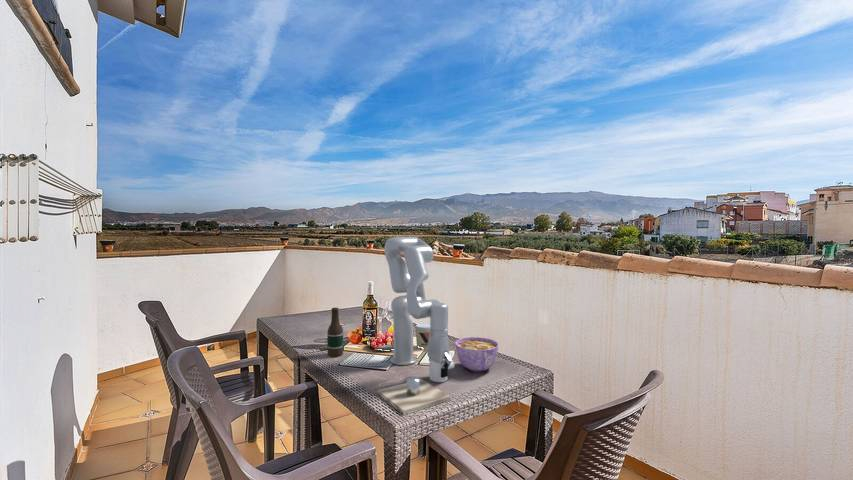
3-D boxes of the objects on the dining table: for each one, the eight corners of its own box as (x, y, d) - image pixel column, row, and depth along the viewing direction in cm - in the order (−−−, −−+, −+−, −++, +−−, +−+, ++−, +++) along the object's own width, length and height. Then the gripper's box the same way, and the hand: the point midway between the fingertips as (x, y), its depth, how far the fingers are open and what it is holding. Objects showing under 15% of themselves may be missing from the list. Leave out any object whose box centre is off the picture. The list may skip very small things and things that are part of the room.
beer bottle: (346, 354, 195) (346, 307, 194) (335, 358, 188) (334, 310, 187) (335, 351, 199) (335, 305, 198) (324, 355, 192) (323, 308, 192)
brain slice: (361, 346, 208) (361, 341, 208) (387, 341, 218) (387, 335, 218) (379, 356, 193) (379, 350, 192) (407, 349, 203) (407, 344, 203)
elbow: (426, 377, 163) (426, 359, 163) (446, 371, 170) (447, 354, 169) (436, 383, 157) (436, 364, 157) (457, 377, 163) (457, 359, 163)
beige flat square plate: (377, 394, 148) (377, 376, 148) (420, 382, 159) (420, 365, 159) (404, 415, 131) (404, 395, 131) (450, 400, 143) (450, 381, 142)
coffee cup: (419, 351, 200) (419, 328, 199) (412, 346, 208) (412, 324, 208) (435, 348, 203) (435, 326, 203) (428, 343, 212) (428, 322, 211)
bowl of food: (498, 378, 163) (498, 351, 163) (452, 374, 167) (452, 348, 167) (499, 362, 183) (499, 338, 183) (457, 359, 187) (457, 335, 187)
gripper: (420, 329, 167) (419, 368, 167) (444, 339, 152) (443, 382, 153) (434, 326, 171) (433, 365, 172) (458, 336, 156) (458, 378, 157)
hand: (438, 373), depth 162 cm, fingers closed on elbow, 7 cm apart
